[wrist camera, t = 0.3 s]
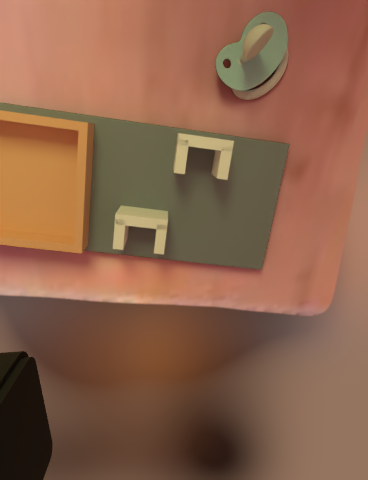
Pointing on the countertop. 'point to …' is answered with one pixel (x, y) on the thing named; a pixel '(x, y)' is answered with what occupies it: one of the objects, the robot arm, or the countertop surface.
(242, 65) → the pacifier
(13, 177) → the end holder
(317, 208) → the countertop surface
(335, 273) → the countertop surface
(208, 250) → the board
